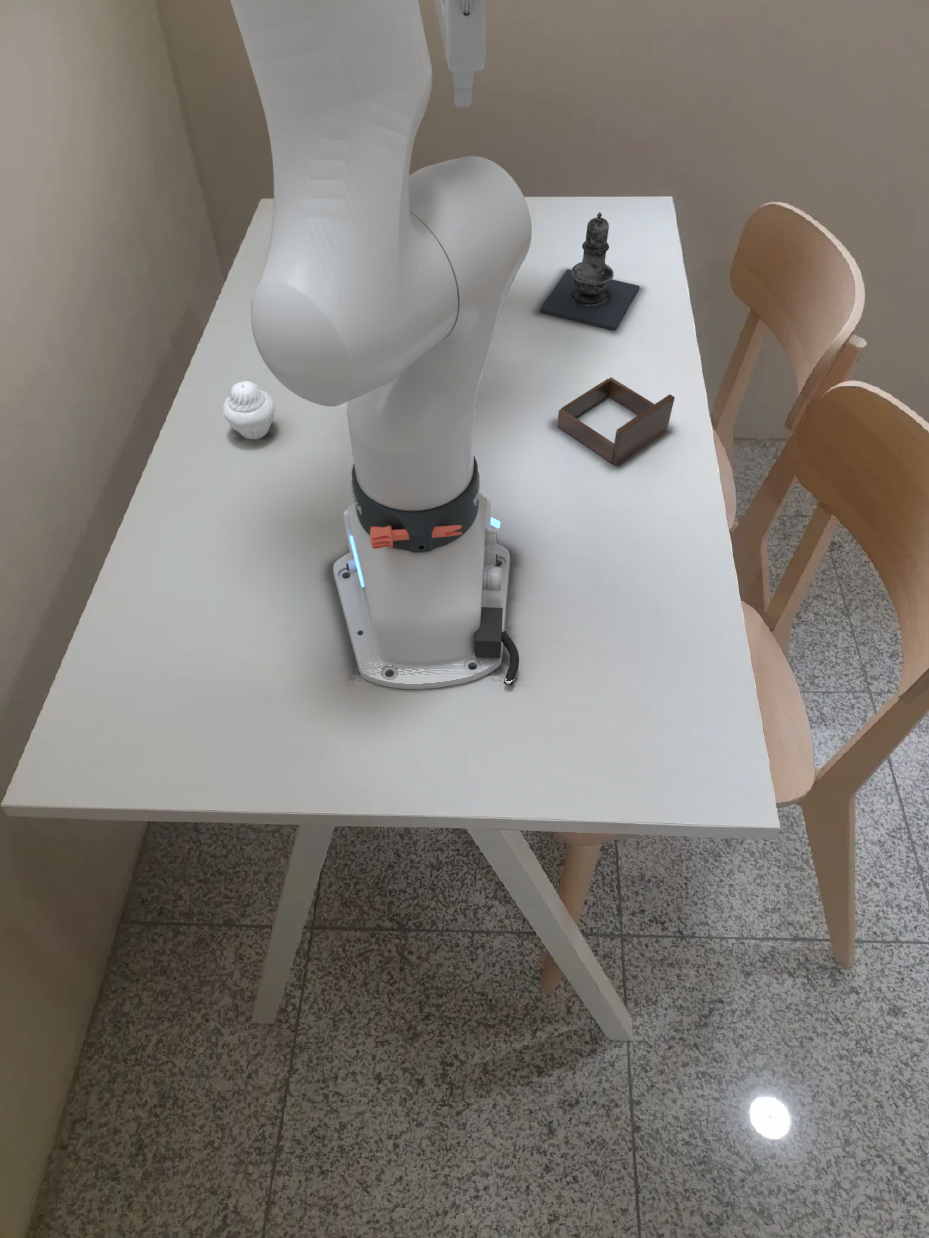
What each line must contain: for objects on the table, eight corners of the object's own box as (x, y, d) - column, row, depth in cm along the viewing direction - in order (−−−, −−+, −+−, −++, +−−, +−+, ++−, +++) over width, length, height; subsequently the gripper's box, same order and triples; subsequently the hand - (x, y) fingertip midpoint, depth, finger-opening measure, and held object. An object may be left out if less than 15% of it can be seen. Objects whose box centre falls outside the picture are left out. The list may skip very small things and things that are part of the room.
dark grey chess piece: (562, 288, 120) (570, 205, 110) (600, 281, 121) (611, 198, 111) (578, 311, 116) (587, 227, 107) (617, 303, 117) (630, 219, 108)
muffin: (269, 451, 101) (257, 404, 95) (221, 444, 102) (207, 397, 96) (287, 418, 104) (276, 371, 99) (241, 411, 105) (227, 364, 100)
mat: (614, 331, 115) (615, 327, 114) (539, 312, 117) (539, 308, 117) (638, 289, 121) (639, 285, 120) (567, 272, 123) (567, 268, 123)
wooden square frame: (556, 426, 103) (559, 392, 99) (608, 392, 107) (613, 359, 103) (615, 466, 99) (621, 433, 95) (667, 430, 102) (675, 397, 98)
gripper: (503, -45, 72) (499, 127, 83) (478, -111, 84) (477, 47, 95) (430, -42, 71) (436, 131, 83) (415, -109, 84) (422, 49, 95)
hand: (458, 85), depth 89 cm, fingers open, 8 cm apart
